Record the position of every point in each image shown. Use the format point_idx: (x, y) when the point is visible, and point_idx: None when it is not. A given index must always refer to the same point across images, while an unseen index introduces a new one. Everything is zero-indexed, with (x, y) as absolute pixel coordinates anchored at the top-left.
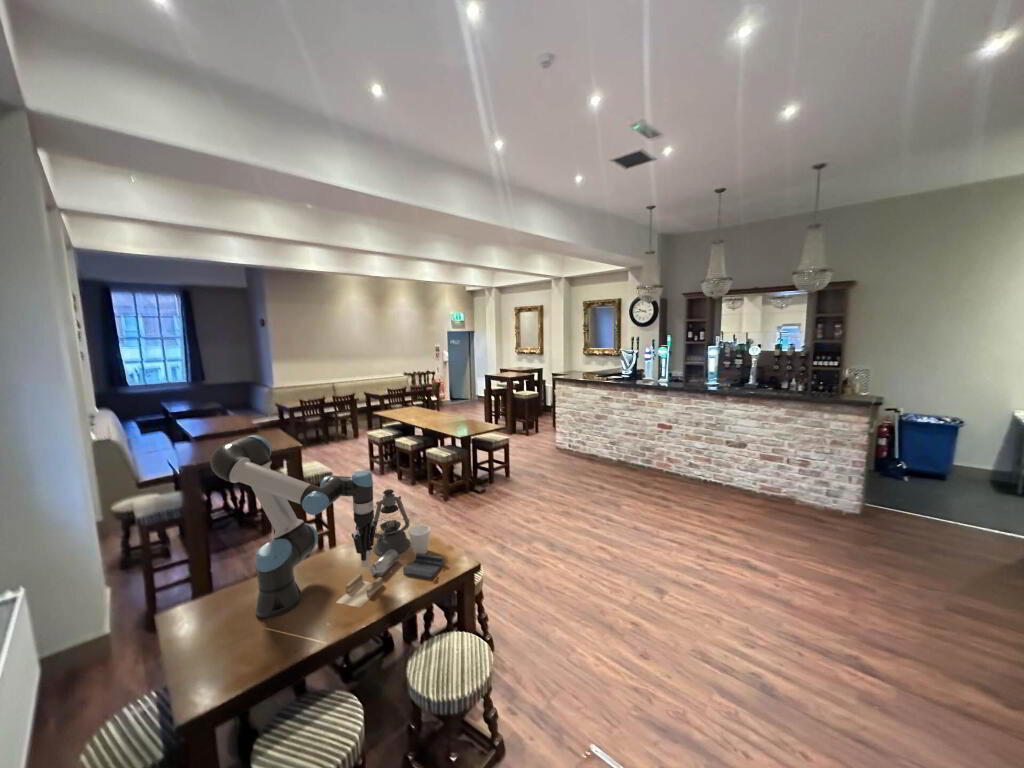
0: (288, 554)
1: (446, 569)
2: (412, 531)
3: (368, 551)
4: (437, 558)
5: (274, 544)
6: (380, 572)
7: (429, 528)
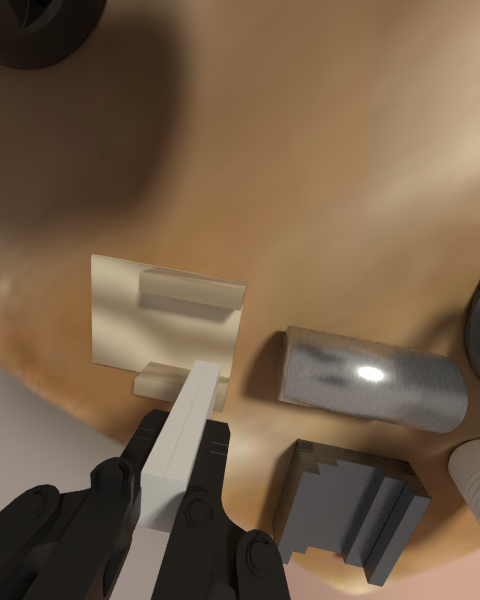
0: None
1: None
2: None
3: (163, 530)
4: (374, 568)
5: None
6: (278, 379)
7: None
